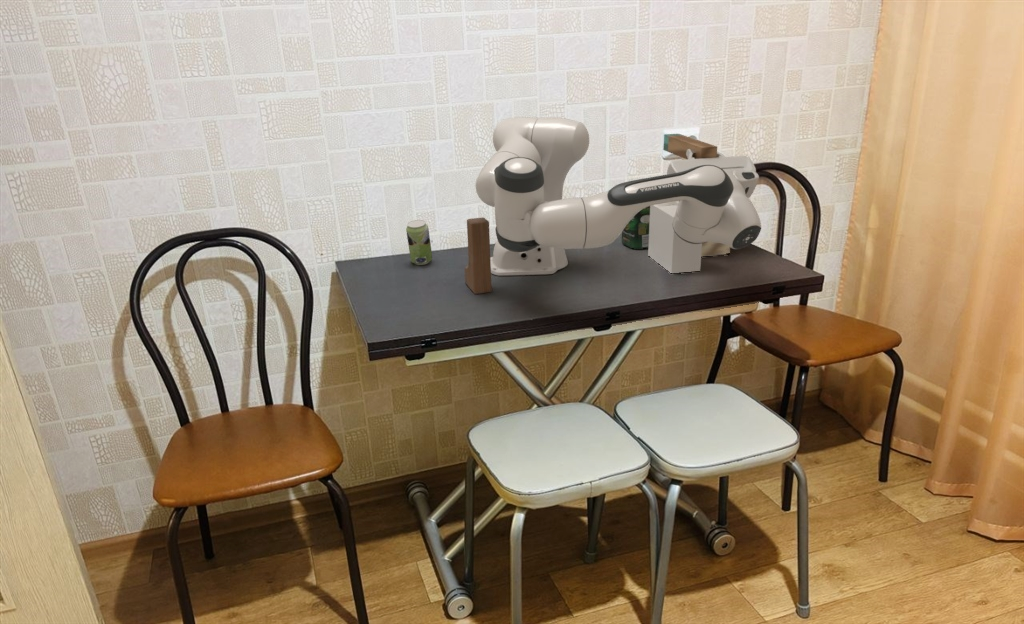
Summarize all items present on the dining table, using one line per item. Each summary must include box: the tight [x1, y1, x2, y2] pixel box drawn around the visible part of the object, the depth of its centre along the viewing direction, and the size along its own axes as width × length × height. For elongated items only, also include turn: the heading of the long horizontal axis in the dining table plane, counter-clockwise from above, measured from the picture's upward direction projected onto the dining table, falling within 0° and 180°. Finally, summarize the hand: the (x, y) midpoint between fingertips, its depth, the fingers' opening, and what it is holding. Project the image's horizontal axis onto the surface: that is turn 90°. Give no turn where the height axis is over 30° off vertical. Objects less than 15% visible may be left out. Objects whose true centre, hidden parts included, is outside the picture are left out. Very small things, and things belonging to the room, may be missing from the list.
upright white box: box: [647, 202, 702, 274], centre depth 199 cm, size 8×16×15 cm, turn 12°
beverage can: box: [405, 219, 433, 266], centre depth 205 cm, size 6×7×12 cm
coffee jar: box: [621, 206, 650, 250], centre depth 215 cm, size 10×8×19 cm
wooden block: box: [464, 217, 492, 295], centre depth 184 cm, size 9×4×18 cm, turn 18°
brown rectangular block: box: [662, 133, 718, 159], centre depth 185 cm, size 4×22×4 cm, turn 12°
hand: (700, 150), depth 179 cm, fingers closed on brown rectangular block, 4 cm apart
